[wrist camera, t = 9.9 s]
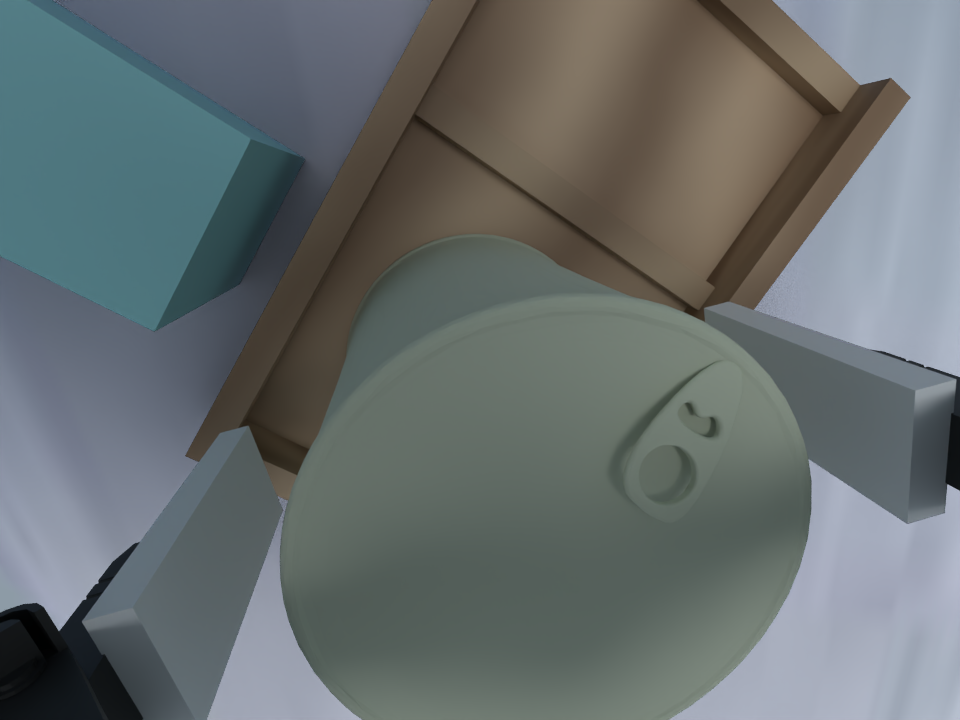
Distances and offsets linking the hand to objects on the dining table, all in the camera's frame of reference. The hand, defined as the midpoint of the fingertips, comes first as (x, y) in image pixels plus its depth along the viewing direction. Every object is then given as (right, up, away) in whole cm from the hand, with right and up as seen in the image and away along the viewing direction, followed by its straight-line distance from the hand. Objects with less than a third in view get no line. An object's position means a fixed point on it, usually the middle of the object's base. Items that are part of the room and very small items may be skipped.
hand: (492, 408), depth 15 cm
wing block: (-12, +9, +2) cm, 15 cm away
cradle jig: (+1, +5, +5) cm, 7 cm away
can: (-1, +1, +5) cm, 5 cm away
